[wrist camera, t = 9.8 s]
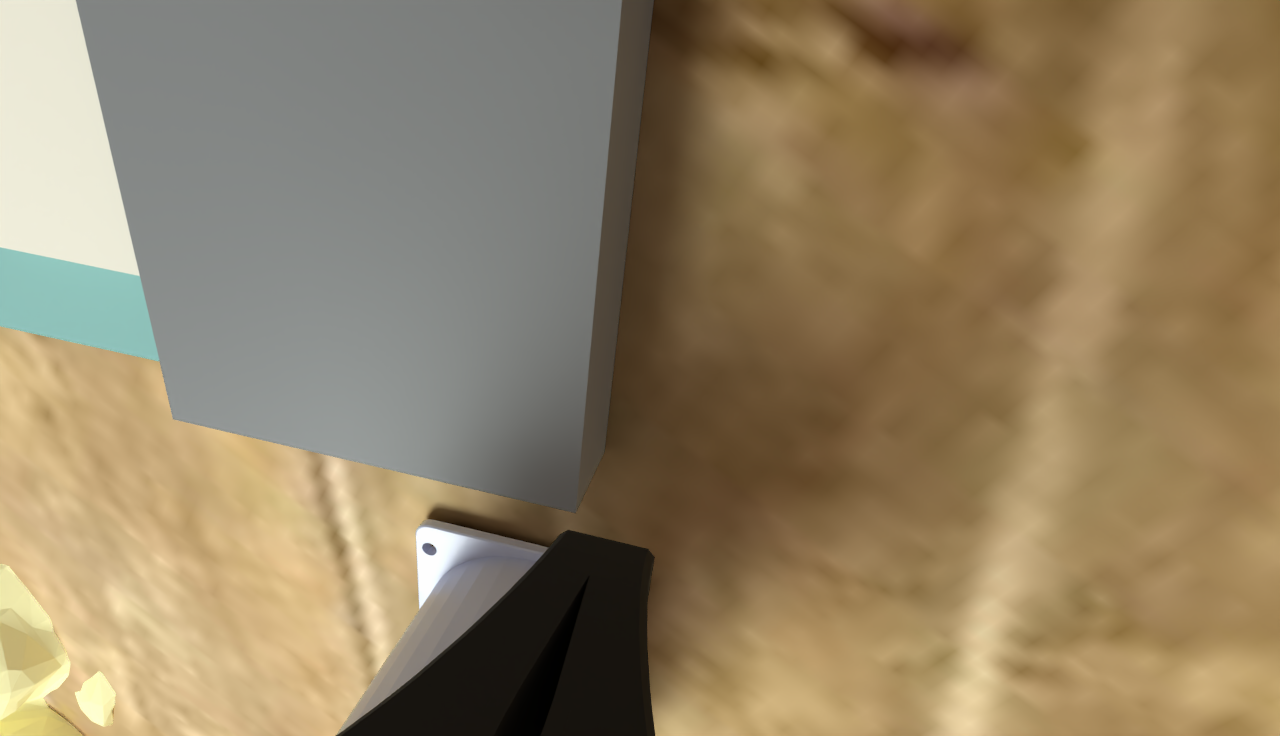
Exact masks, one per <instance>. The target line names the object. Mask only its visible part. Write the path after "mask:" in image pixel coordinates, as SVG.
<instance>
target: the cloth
mask: <svg viewBox="0 0 1280 736" xmlns="http://www.w3.org/2000/svg"><path fill="white" fill-rule="evenodd" d="M70 664H71V662H70V660H69V659H68V657H67V652H66V650H65V649H64V647H63V645H62V644H61V642H60V640H59V639H58V637H57V636H56V634H55V633H54V630H53V626H52V622H51V619H50V617H49V616H48V615H47V613H46V612H45V611H44V609H43V608H42V607H41V606H40V604H39V603H38V602H37V601H36V599H35V598H34V597H33V595H32V594H31V593H30V592H29V590H28V589H27V588H26V586H25V585H24V584H23V583H22V582H21V581H20V580H19V578H18V577H17V576H16V575H15V573H14V572H13V571H12V570H11V568H10V567H9V566H8V565H3V564H0V736H83V735H82V734H81V733H80V732H79V731H78V730H77V729H76V728H75V727H74V726H73V725H72V724H70V723H69V722H68V721H67V720H65V719H64V718H63V717H61V716H60V715H59V714H57V713H56V712H54V711H53V710H51V709H50V708H49V707H48V705H47V704H46V702H45V700H44V699H43V697H44V696H46V695H47V694H48V693H49V692H51V691H53V690H55V689H57V688H58V687H59V686H60V685H61V684H62V683H63V681H64V680H65V679H66V678H67V677H68V675H69V669H70ZM75 694H76V698H77V701H78V704H79V706H80V708H81V710H82V711H83V712H84V713H85V714H86V715H87V716H88V717H89V719H90V720H91V721H93V722H95V723H97V724H99V725H101V726H103V727H104V726H109V725H113V709H114V705H115V696H116V693H115V692H114V690H113V689H112V687H111V686H110V684H109V683H108V681H107V680H106V678H105V677H104V675H103V673H102V672H99V671H98V672H97V674H95V675H94V676H93V677H92V678H90V679H89V680H87V681H85V682H84V684H83V686H82V689H81V691H79V692H75Z"/></svg>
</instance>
